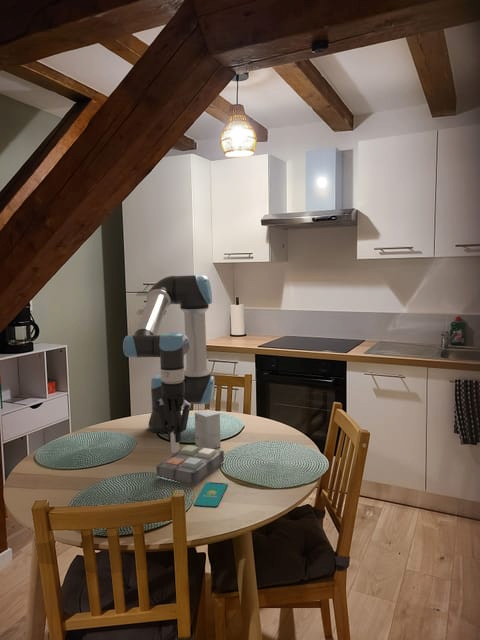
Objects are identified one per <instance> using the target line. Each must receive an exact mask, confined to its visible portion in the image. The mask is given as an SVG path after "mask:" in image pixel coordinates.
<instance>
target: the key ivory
mask: <svg viewBox="0 0 480 640" xmlns="http://www.w3.org/2000/svg"><path fill="white" fill-rule="evenodd" d="M215 450H216V448H214V449H209V448H203V449H202V450H200V451H199V452H198V457H203V458H208V459H210V458H211V457H213V456H214V455H215Z"/></svg>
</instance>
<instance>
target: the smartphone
mask: <svg viewBox="0 0 480 640" xmlns="http://www.w3.org/2000/svg"><path fill="white" fill-rule="evenodd" d="M228 487H229V483H226V482H209V481H208V482H207V481H206V482H205V483H204V485H203V486H202V488H201V490H200V492H199V494H198V495H197V497H196V499H195V501H194V502H193V506H194V507H205V508H218V507H219V506H220V503H221V501H222V499H223V497H224V494H225V492H226V491H227V489H228Z"/></svg>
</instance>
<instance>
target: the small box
mask: <svg viewBox="0 0 480 640" xmlns="http://www.w3.org/2000/svg"><path fill="white" fill-rule="evenodd" d="M220 414H221V413H219V412H216V411H215V410H214V411H213V410H210V409H209V408H207V409H203V410H199V411H195V412H194V427H195V428H194V435H195V437H194V438H195V446H196V447H202V448H209V449H217V448H221V446H222V445H221V415H220Z"/></svg>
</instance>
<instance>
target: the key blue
mask: <svg viewBox="0 0 480 640" xmlns="http://www.w3.org/2000/svg"><path fill="white" fill-rule="evenodd" d="M201 465H202V459H198V458H192V457H190V458H188V459H187V460H185V461H184V462H183V467H187V468H192V469H196V468H198V467H199V466H201Z"/></svg>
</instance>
